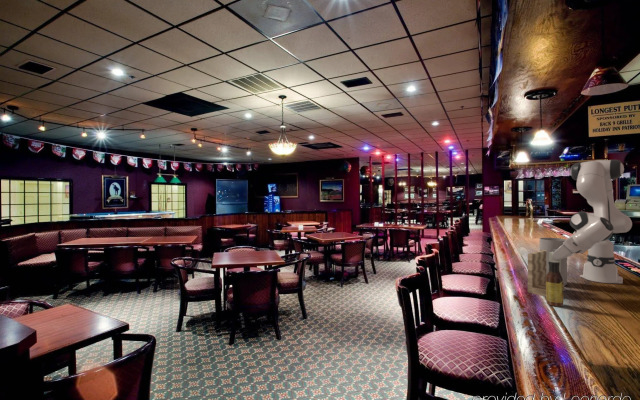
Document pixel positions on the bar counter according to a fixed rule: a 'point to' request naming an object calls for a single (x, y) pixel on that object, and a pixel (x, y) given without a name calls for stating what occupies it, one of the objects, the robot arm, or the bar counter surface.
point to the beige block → (557, 260)
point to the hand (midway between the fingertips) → (553, 261)
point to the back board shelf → (537, 272)
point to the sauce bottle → (554, 285)
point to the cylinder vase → (550, 245)
